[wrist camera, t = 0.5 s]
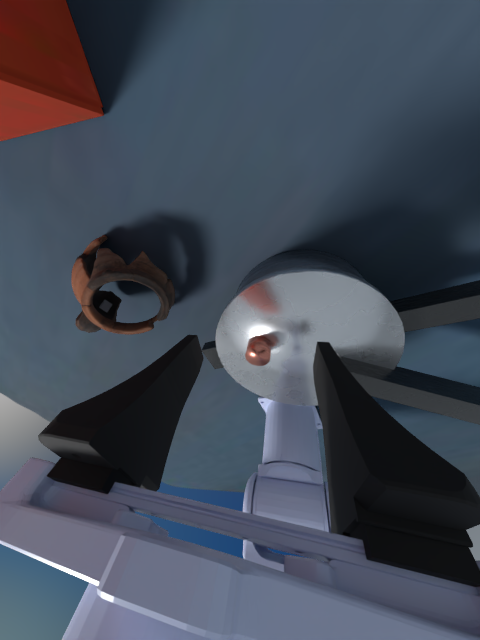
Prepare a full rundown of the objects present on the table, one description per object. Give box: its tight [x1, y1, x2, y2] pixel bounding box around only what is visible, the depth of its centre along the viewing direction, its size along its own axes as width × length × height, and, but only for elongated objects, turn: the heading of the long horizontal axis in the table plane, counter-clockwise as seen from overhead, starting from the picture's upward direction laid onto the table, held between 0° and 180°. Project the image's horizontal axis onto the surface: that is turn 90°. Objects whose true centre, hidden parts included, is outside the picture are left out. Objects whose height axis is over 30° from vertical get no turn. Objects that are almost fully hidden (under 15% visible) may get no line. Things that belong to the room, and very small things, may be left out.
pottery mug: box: [72, 235, 175, 334], centre depth 22 cm, size 12×10×8 cm
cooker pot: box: [202, 250, 480, 369], centre depth 19 cm, size 24×14×5 cm, turn 116°
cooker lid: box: [216, 266, 480, 425], centre depth 17 cm, size 22×15×2 cm, turn 81°
